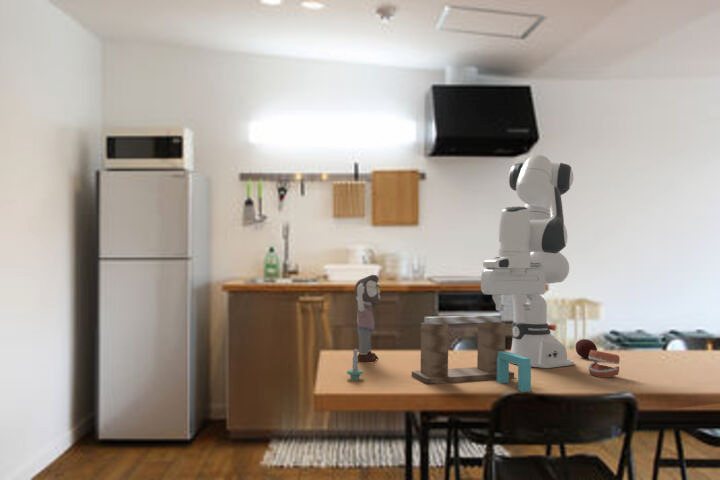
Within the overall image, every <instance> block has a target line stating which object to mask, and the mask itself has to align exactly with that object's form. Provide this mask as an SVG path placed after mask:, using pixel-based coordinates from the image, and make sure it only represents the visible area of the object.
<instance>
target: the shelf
mask: <svg viewBox="0 0 720 480" xmlns="http://www.w3.org/2000/svg"><path fill="white" fill-rule="evenodd" d="M502 317H503V316H502V315H500V314H491V315H490V314H487V315H486V314H485V315H451V316H450V315H448V316H447V315H446V316H424V318H423V321H424V322H420V370H412V371H411V377H412V376H413V377H412V378H414V377H415V380H418V381H420V382H422V383H424V384H425V383H426V385H430V384H429V383H435V384H442V383H441V382H449V383H460V382H472V381H473V382H474V381H487V380H497V357H498V351H506V322H504V321H502ZM449 324H451V325H453V324H455V325H457V324H477V362H476V365H477V366H475V367H474V366H471V367H460V368H459V367H457V368H456V367H455V368H449ZM513 378H515V371H514V372H513V371H510V370H509V379H513Z"/></svg>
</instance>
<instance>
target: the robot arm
mask: <svg viewBox="0 0 720 480" xmlns="http://www.w3.org/2000/svg"><path fill="white" fill-rule="evenodd" d="M507 179H508V184H509V187H510V189H512V190H513V191H516V194H517V196H518V198H519V199H520V201H522V202H523V203H524V205H523V206H508V207H505V208H502V210H501V213H500V219H499V227H498V228H499V229H498V239H499V240H498V241H499V243H500V244H499V249H498V255H496V256H493V257H490V258H488V259H485V260H483V261H482V265H483V268H484V269H483V270H482V271H481V272H482V273H481V278H480V291H481V292H482V294H483V295H491V296H492V300H493V302H494V304H495V310H496V311H498V312H499V311H500V312H501V311H504V310H505V308H504V307H505V305H504V303H503V304H502V302H501V300H500V299H501V298H502V295H511V299H512V309H513V321H512V322H511V333H512V341H511V348H510V353H513V354H517V355H520V356H523V357H527V358H530V365H531V368H532V367H535V368H541V369H551V368H558V367H565V366H572V365H575V361H574V360H572V359H571V358H568V354H567V348H566V346H565V345H564V344H563V343H562V342H561V341H560V340H558V339H557V338H556V337H555V336H554V335H553V334H552V332H551V331H556V330H557V325H556V324H551V323H550V324H549V323H547V311H548V310H547V309H548V307H547V305H548V304H547V301H546V300H545V298H544V297H543V295H545V293H546V291H547V284H557V283H562V282H564V281H565V279H567V277H568V276H569V273H570V264H569V261H568V259H567V257H566V256H565V255H564V254H562V253H561V251H562V250H563V249H564V248H566V247H567V243H568V232H567V231H568V230H567V228H566V227H567V226H566V224H565V221H564V220H565V219H564V217H565V216H564V209H563V208H564V207H563V202H562V195H564V194H566V193H567V192H569V190H570V189H571V186H572V185H573V182H574V171H573V170H572V167H571V165H570V164H566V163H563V162H559V163H557V162H551V160H550V159H549V158H548V157H547V156H544V155H541V154H535V155H532V156H529V157H528V158H527V159H526V160H525V162H518V163H515V164H513V165H512V166H511V167H510V170H509V172H508V178H507ZM512 364H514V363H512ZM514 365H515V364H514ZM516 365H517V366H518V364H516Z"/></svg>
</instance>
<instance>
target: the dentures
mask: <svg viewBox="0 0 720 480" xmlns="http://www.w3.org/2000/svg"><path fill="white" fill-rule="evenodd" d="M588 358H589V359H588ZM588 358H587V359H588V360H592V361H593V362H590V364H589V365H588V373H589V375H590V376H593V377H598V378H611V377H615V376H618V375H619V373H620V366H614V367H613V366H607V365H603V364H599V363H598V362H597V361H599V362H603V363H608V364H612V365H614V364H615V365H619V364H620V359H621V358H620V355H618V354H614V353H609V352H604V351H600V350H597V351H595V350H590V353H589V357H588Z"/></svg>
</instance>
